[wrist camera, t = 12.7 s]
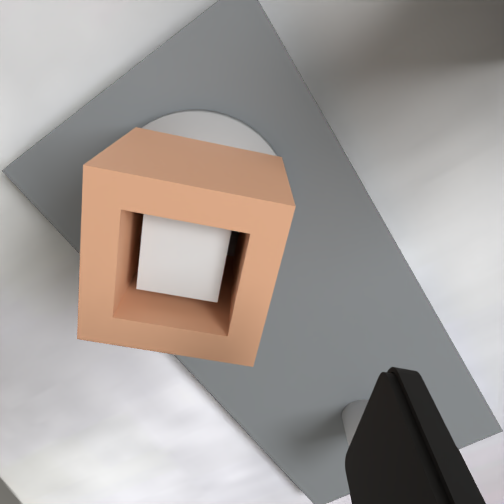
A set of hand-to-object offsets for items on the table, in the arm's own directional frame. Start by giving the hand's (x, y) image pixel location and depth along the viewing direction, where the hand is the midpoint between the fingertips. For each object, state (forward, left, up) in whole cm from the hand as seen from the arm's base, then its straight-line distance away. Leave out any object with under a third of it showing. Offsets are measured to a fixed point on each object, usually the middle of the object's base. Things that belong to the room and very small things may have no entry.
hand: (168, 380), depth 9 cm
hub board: (-7, 0, -13) cm, 15 cm away
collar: (0, 0, -10) cm, 10 cm away
